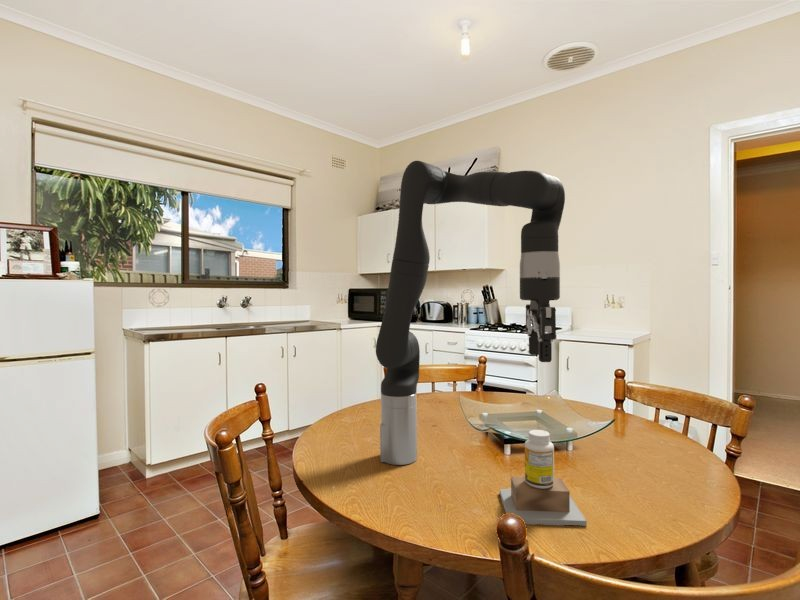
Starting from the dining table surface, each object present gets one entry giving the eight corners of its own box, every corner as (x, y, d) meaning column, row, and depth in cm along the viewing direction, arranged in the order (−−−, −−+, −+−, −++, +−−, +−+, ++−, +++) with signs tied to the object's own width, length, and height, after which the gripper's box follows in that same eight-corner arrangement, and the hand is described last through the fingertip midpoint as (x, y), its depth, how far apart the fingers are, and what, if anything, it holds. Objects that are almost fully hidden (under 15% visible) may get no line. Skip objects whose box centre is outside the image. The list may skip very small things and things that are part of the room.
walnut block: (516, 510, 84) (516, 489, 84) (511, 495, 90) (511, 476, 90) (569, 512, 83) (569, 491, 83) (560, 497, 89) (560, 477, 89)
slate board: (509, 523, 81) (509, 518, 81) (499, 493, 93) (499, 488, 93) (586, 526, 80) (586, 520, 80) (566, 495, 92) (566, 490, 92)
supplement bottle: (531, 475, 90) (531, 426, 90) (558, 482, 87) (558, 431, 86) (520, 484, 86) (519, 433, 86) (547, 492, 82) (547, 439, 82)
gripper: (513, 277, 93) (513, 352, 93) (527, 275, 78) (528, 364, 79) (549, 276, 92) (549, 352, 92) (570, 274, 78) (570, 364, 78)
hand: (539, 358), depth 86 cm, fingers open, 8 cm apart
